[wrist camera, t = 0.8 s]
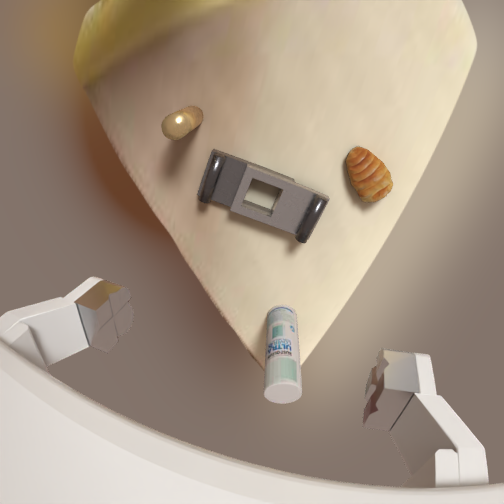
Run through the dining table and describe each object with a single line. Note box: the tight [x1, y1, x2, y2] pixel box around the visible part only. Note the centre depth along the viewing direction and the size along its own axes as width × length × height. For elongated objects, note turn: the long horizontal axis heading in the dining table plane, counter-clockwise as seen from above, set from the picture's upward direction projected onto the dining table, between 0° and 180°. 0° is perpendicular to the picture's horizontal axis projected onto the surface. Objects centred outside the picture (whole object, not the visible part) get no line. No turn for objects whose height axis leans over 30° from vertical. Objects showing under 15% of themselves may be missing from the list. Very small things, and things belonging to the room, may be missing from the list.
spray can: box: [264, 305, 302, 403], centre depth 59 cm, size 6×6×20 cm
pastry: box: [346, 147, 393, 202], centre depth 49 cm, size 9×7×4 cm
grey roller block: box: [197, 149, 329, 243], centre depth 51 cm, size 20×8×5 cm, turn 69°
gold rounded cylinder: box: [162, 106, 203, 140], centre depth 43 cm, size 4×4×10 cm
